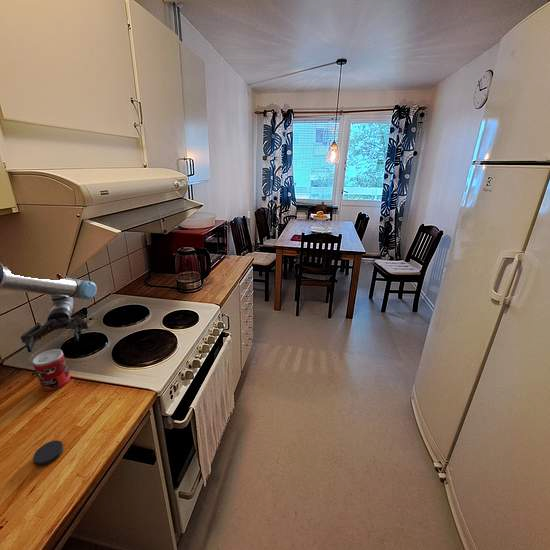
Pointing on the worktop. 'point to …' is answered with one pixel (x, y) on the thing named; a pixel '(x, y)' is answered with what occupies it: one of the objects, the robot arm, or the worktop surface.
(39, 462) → the pad
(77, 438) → the worktop surface
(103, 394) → the worktop surface
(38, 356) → the canned food
